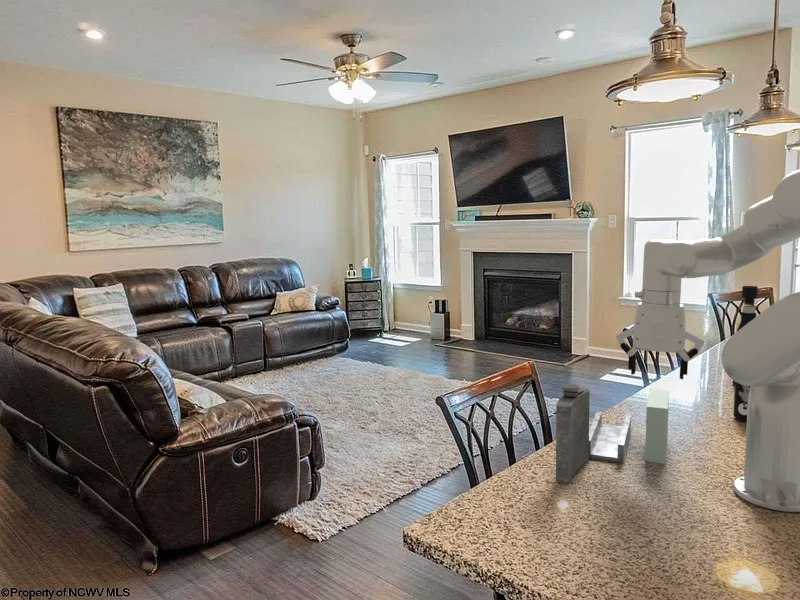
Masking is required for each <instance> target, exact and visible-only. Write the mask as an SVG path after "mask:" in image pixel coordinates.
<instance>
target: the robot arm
mask: <svg viewBox="0 0 800 600" xmlns="http://www.w3.org/2000/svg"><path fill="white" fill-rule="evenodd" d="M746 209H747V210H746V211H745V213H744V216H743V224H742V225H740V226H739V227H737V228H735V229H733V230H731V231H729V232H727V233H724V234H723V235H721V236H718V237H714V238H704V239H703V238H702V239H692V240H691V239H690V240H677V239H668V238H667V239H649V240H648V241H646V243H645V244H644V247H643V263H642V265H643V266H642V267H643V268H642V287H641V288H642V289H640V290H639V291H635V290H634V298H638V299H640V300H641V302H638V303H637V306H636V310H635V315H634V322H633V327H632V328H629V329H626V330H625V331H622V332H619V333H617V334H616V335H615V338H616V340H617V342H618V344H619V346H620V348H621V349H622V351H624V352H625V354H627V356H628V362H627V364H628V365H627V366H628V367H627V369H628V370H631V371H630V374H631V375H635V374H636V367H637V354H636V353H637V352H638V351H647V352H648V351H650V352H659V353H661V352H662V353H676V354H678V355H679V356H680V357H681V358H680V360H679V361H680V362H679V363H680V364H679V379H680V380H684V377H685V376H688V369H689V368H688V365H689V361H690V360H691V359H693V357H695V356H697V354H698V353H699V352H700V351H701V349H702V348H703V346H704V344H705V341H704V339H702V338H699V337H698V336H696V335H694V334H693V333H690V332H689V331H687V330H686V310H685V305H684V304H683V303H681V294H682V293H681V292H682V279H697V278H702V277H713V276H715V277H716V276H720V275H724V274H725V275H726V274H727V273H730V272H733V271H735V270H738V269H741V268H742V267H745V266H748V265H749V264H751V263H752V264H753V263H755V262H756V261H758V260H760V259H762V258H764V257H765V256H766V255H768V254H770V253H771V252H774V250H775V249H777V248H779V247H781V246H784V245H786V244H788V243H791V242H793V241H795V240H797V239H798V240H799V239H800V169H798V170H795V171H791V173H789V174H787V175H786V176H784V177H783V178H781V180H780V181H779V182H778V183H777V185H776V186H775V188H774V190H773V193H772V195H771V196H769V197H767V198H765V199H763V200H761V201H759V202H757V203H755V204H753V205H751V206H749V207H748V208H746ZM630 336H632V346H630V345H629V344H628V343H627V342H626V340H625V339H626V338H628V337H630ZM686 340H688V341H690V342H692V343H694V345H693V346H692V348H691V349H689V350H688V351H687V350H686V349H685V347H686V346H685V345H686ZM721 365H722V369H723V370H724V372H725V373H726V375H727V376H728V378H730V379H731V380H732V381H733V380H734V381H735V382H737V383H739V384H742V385H745V386H751V388H750V392H749V398H748V410H747V423H746V430H745V433H746V434H745V449H744V450H745V451H744V452H745V453H744V470H743V476H740V477H738V478H735V480H734V482H733V490H734V492H735V493H736V494H737V496H738V497H740V498H741V499H743V500H744V501H746V502H748V503H751V504H753V505H755V506H759V507H762V508H766V509H769V510H772V511H780V512H785V513H786V512H787V513H800V291H797V292H794V293H790V294H788V295H786V296H783V297H782V298H781V299H778V300H777V301H775V302H774V303H773V304H771V305H770V306H768V307H767V308H766V309H764V310H763V311H762V312H761V313H759V314H758V315H756V317H755V318H754V319H753V320H752V321H750V322H749V323H748V324H746V325H745V326H744V327H742V328H741V329H740V330H739V331H737V330H736V331H735V333H734V334H733V335H732V336H730V337H729V338H728V340H727V341H726V342H725V344H724V346H723V348H722V351H721Z"/></svg>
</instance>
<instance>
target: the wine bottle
mask: <svg viewBox="0 0 800 600" xmlns="http://www.w3.org/2000/svg"><path fill="white" fill-rule="evenodd" d="M758 292H759V287H758V286H756V285H743V286H742V287H741V298H744V302H743V307H742V310H741V315H740V323H739V325H738V327H737V329H736V332H737V331H739V330H740V329H741V328H742V327H744V326H745V325H746V324H748V323H749V322H750V321H752V320H753V319H754V318H755V317H757V313H756V306H755V299H758ZM732 386H733V387H735V381H734V380H732Z"/></svg>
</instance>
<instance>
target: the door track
mask: <svg viewBox="0 0 800 600" xmlns="http://www.w3.org/2000/svg"><path fill="white" fill-rule="evenodd" d="M602 422H603V411H596V413H595V415H594V417H593V419H592V423H591V424H590V425H589V460H590V459H591V460H597V461H604V462H611V463H619V464H624V463H625V459H626V454H627V450H628V446H629V440H630V436H631V432H632V415H630V414H626V415H625V417H624V421H623V424H622V425H615V424H607V423H605V424H604V423H602Z"/></svg>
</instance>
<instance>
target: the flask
mask: <svg viewBox="0 0 800 600" xmlns="http://www.w3.org/2000/svg"><path fill="white" fill-rule="evenodd" d="M562 393H563V395H562V396H561V397H560V398H559V399H558V400H557V402H556V407H555V408H556V409H555V410H556V411H555V412H556V413H555V415H556V417H555V422H556V423H555V427H556V428H555V482H556V483H557V484H560V485H570V484H571V483H572V480H573V477H574V476H575V474H576V473H577V472H578V471H579V469H581V468H582V467H583V466H584V465H586V464H588V463H589V460H590V458H589V429H590V397H591V395H590V393H591V392H590V389H589V388H587V387H581V386H579V385H578V384H574V383H566V384H565V383H564V384H562Z"/></svg>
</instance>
